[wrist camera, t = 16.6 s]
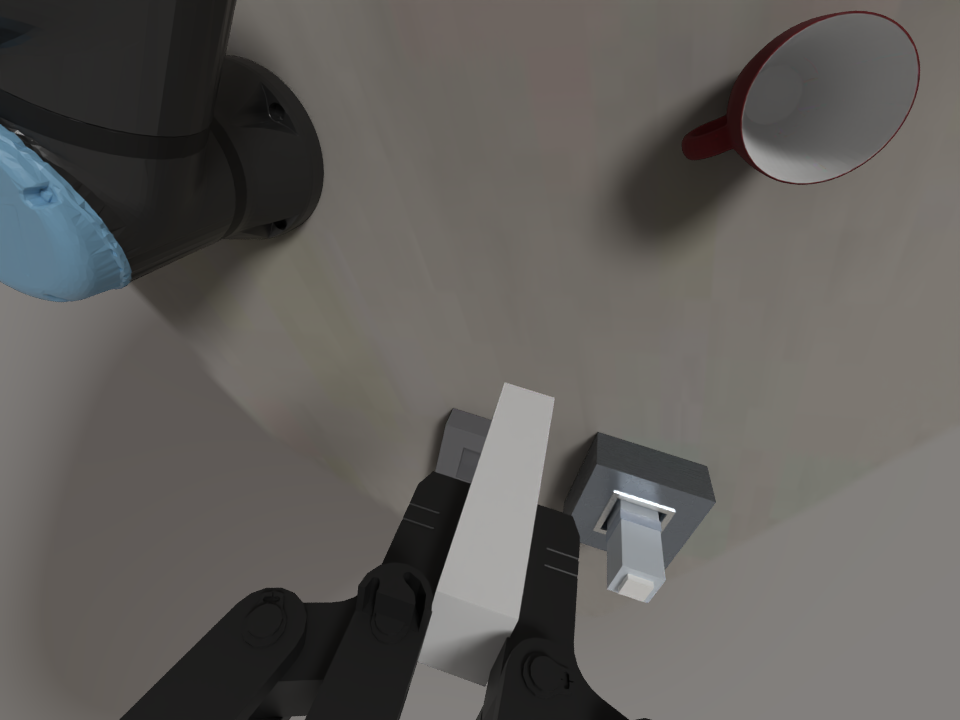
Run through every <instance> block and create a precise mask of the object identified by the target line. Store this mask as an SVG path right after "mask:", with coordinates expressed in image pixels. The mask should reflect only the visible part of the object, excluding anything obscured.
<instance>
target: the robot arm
mask: <svg viewBox="0 0 960 720" xmlns="http://www.w3.org/2000/svg"><path fill="white" fill-rule="evenodd" d="M235 5H236V0H0V282H2V283H3V284H5V285H7V286H9V287H11V288H13V289H15V290H17V291H19V292H22V293H24V294H27V295H29V296H32V297H36V298H39V299H43V300H48V301H55V302H67V301H77V300H82V299H86V298H88V297H91V296H94V295H96V294H99V293H102V292H105V291H108V290H111V289H121V288H123V287H125V286H127V285H128V283H130V282H131V281H133V280H135V279H137V278H139V277H142V276H144V275H146V274H148V273H150V272H152V271H154V270H157V269H159V268H161V267H163V266H165V265H167V264H169V263H172V262H174V261H176V260H178V259H180V258H182V257H184V256H187V255H189V254H191V253H193V252H195V251H198V250H200V249H202V248H204V247H206V246H209V245H211V244H213V243H215V242H217V241H219V240H221V239H269V238H273V237H277V236H280V235H282V234H284V233H286V232H288V231H290V230H292V229H294V228H296V227H298V226H299V225H301V224H302V223H303V222H304V221H305V220H306V219H307V218H308V217H309V216H310V215H311V214H312V212H313V211H314V209H315V207H316V205H317V203H318V201H319V198H320V195H321V191H322V186H323V175H324V170H323V158H322V152H321V147H320V143H319V140H318V137H317V134H316V131H315V129H314V126H313V124H312V122H311V120H310V118H309V116H308V114H307V112H306V110H305V109H304V107H303V106H302V104H301V103H300V101H299V100H298V98H297V97H296V96H295V95H294V93H293V92H292V91H291V90H290V89H289V88H288V87H287V86H286V85H285V83H284V82H282V81H281V80H280V79H279V78H278V77H277V76H276V75H274V74H273V73H272V72H270V71H269V70H267V69H266V68H264V67H263V66H261V65H259V64H257V63H255V62H253V61H250V60H248V59H245V58H241V57H237V56H230V55H225V54H226V49H227V44H228V40H229V35H230V30H231V25H232V20H233V15H234V10H235ZM554 399H555V398H553V397H550V396H547V395H544V394H540V393H537V392H534V391H531V390H527V389H524V388H521V387H518V386H515V385H511V384H508V383H504V386H503V389H502V392H501V395H500V398H499V401H498V404H497V407H496V410H495V413H494V416H493V419H492V422H491V426H490V429H489V432H488V435H487V438H486V441H485V444H484V447H483V450H482V453H481V456H480V459H479V462H478V465H477V468H476V471H475V474H474V477H473V480H472V483H471V484H470V483H467V482H464V481H461V480H458V479H455V478H452V477H449V476H446V475H443V474H440V473H437V472H434V471H433V472H432V473H431V474H430V475H428V476H427V477H426V478H425V479H424V480H423V481H421V482H420V483H419V484H418V486H417V488H416V490H415V493H414V495H413V497H412V499H411V501H410V504H409V506H408V508H407V510H406V512H405V515H404V517H403V520H402V521H401V523H400V526H399V528H398V530H397V532H396V534H395V536H394V539H393V541H392V543H391V545H390V548H389V550H388V552H387V554H386V556H385V558H384V561H383V563H382V565H380V566H378V567H376V568H375V569H373V570H372V571H370V572H369V573H367V575H366V576H365V577H364V579H363V580H362V581H361V583H360V584H359V586H358V595H357V596H356V597H354V598H351V599H348V600H345V601H341V602H332V603H303V602H302V601H301V600H300V599H299V598H298V596H297V595H296V594H295V593H293V592H291V591H288V590H286V589H283V588H265V589H262V590H259V591H256V592H254V593H251V594H250V595H248V596H247V597H246V598H244V599H243V600H241V601H240V602H239V603H237V604H236V605H235V606H234V607H233V608H232V609H231V610H230V611H229V612H228V613H227V614H226V615H225V616H224V617H223V618H222V619H221V620H220V621H219V622H218V623H217V624H216V625H215V626H214V627H213V628H212V629H211V630H210V631H209V632H208V633H207V634H206V635H205V636H204V637H203V638H202V639H201V640H200V641H199V642H198V643H197V644H196V645H195V646H194V647H193V648H192V649H191V650H190V651H188V652H187V653H186V654H185V656H183V658H181V660H179V661H178V662H177V663H176V664H175V665H174V666H173V667H172V668H171V669H170V670H169V671H168V672H167V673H166V674H165V675H164V676H163V677H162V678H161V679H160V680H159V681H158V682H157V683H156V684H155V685H154V686H153V687H152V688H151V689H150V690H149V691H148V692H147V693H146V694H145V695H144V696H143V697H142V698H141V699H140V700H139V701H138V702H137V703H136V704H135V705H134V706H133V707H132V708H131V709H130V710H129V711H128V712H127V713H126V714H125V715H124V716H123V717H122V718H121V719H120V720H289V719H290V718H291V717H292V716H306V719H305V720H399V719H400V716H401V712H402V710H403V707H404V703H405V700H406V697H407V694H408V690H409V687H410V683H411V680H412V677H413V674H414V671H415V668H416V665H417V662H419V663H422V664H425V665H427V666H430V667H432V668H435V669H438V670H441V671H444V672H446V673H449V674H452V675H454V676H457V677H460V678H463V679H466V680H468V681H471V682H474V683H477V684H479V685H482V686H486V684H487V682H488V685H487V690H486V695H485V701H484V705H483V707H482V709H481V711H480V713H479V715H478V717H477V719H476V720H629V719H627V718H626V717H625V716H623V715H622V714H621V713H620V712H618V711H617V710H616V709H615V708H613V707H612V706H611V705H609V704H608V703H607V702H606V701H604V700H603V699H602V698H601V697H599V696H598V695H597V694H596V693H595V692H594V691H593V690H592V689H591V688H590V686H589V685H588V684H587V682H586V681H585V679H584V678H583V676H582V674H581V672H580V670H579V668H578V665H577V662H576V658H575V654H574V629H575V613H576V597H577V580H578V579H577V575H578V564H579V561H578V558H579V547H580V535H579V532H578V529H577V526H576V524H575V521H574V518H573V516H571V515H568V514H565V513H562V512H559V511H556V510H553V509H550V508H547V507H544V506H541V505H538V504H537V503H538V497H539V491H540V485H541V479H542V473H543V466H544V460H545V454H546V448H547V442H548V436H549V430H550V424H551V417H552V411H553V405H554ZM637 720H650V719H646V718H643V719H637Z"/></svg>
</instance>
